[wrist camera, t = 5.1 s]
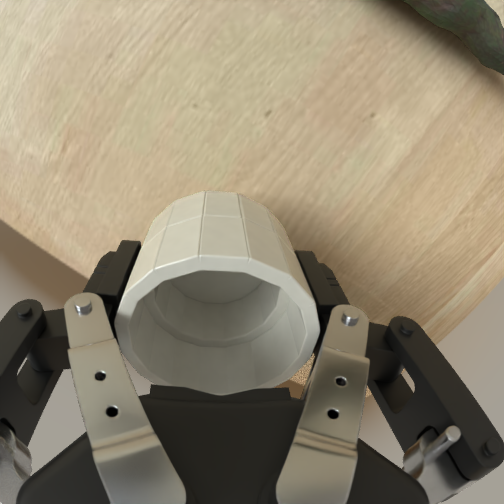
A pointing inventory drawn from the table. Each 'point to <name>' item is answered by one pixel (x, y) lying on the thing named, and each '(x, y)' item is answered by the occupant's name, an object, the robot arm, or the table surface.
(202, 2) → the table surface
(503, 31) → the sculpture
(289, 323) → the white cup
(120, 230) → the table surface
